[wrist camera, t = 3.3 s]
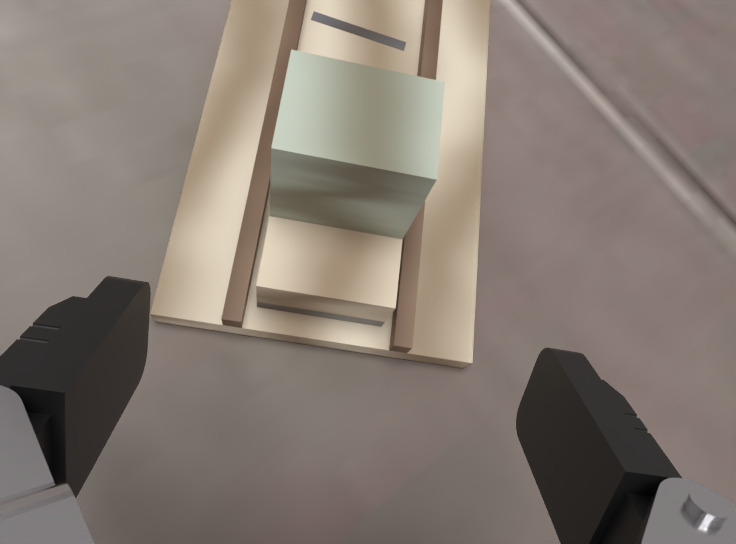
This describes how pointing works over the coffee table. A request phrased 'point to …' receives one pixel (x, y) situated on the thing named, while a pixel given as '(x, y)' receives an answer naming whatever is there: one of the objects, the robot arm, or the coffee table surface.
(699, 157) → the coffee table surface
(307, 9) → the birch plank
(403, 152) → the block
